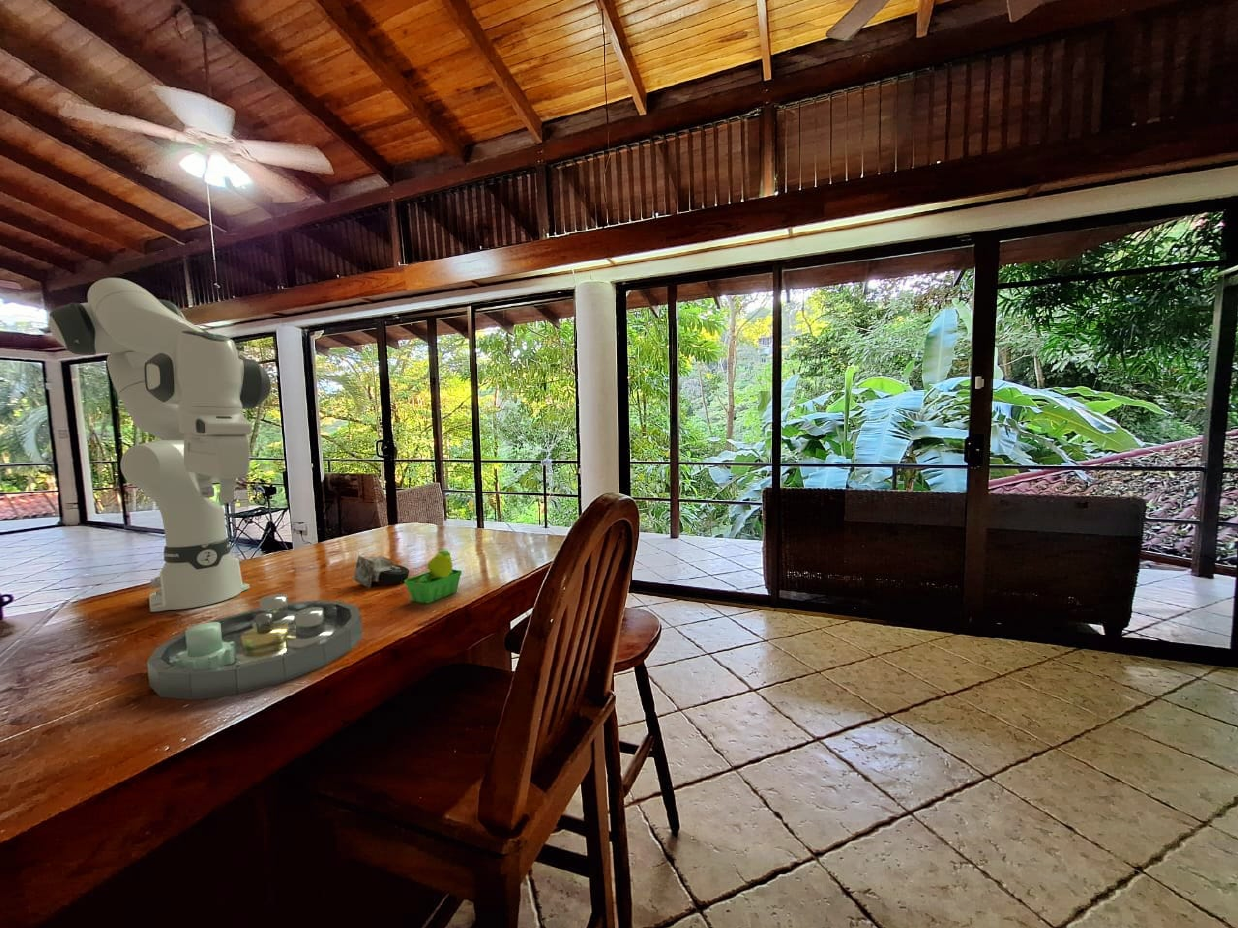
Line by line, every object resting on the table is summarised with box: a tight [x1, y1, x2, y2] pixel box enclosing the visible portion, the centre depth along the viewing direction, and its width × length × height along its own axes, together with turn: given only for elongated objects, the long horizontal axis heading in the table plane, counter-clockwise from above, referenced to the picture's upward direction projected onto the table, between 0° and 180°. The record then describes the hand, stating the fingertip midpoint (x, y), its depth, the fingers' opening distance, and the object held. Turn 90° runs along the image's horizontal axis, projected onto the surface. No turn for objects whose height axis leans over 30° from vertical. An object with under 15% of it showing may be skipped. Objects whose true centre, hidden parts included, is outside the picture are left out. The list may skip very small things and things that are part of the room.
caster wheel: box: [352, 555, 410, 589], centre depth 126 cm, size 7×11×10 cm
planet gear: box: [174, 621, 236, 669], centre depth 79 cm, size 8×8×6 cm
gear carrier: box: [146, 593, 363, 701], centre depth 86 cm, size 30×30×8 cm
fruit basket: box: [404, 550, 463, 604], centre depth 113 cm, size 11×9×11 cm
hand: (216, 499), depth 87 cm, fingers open, 8 cm apart
